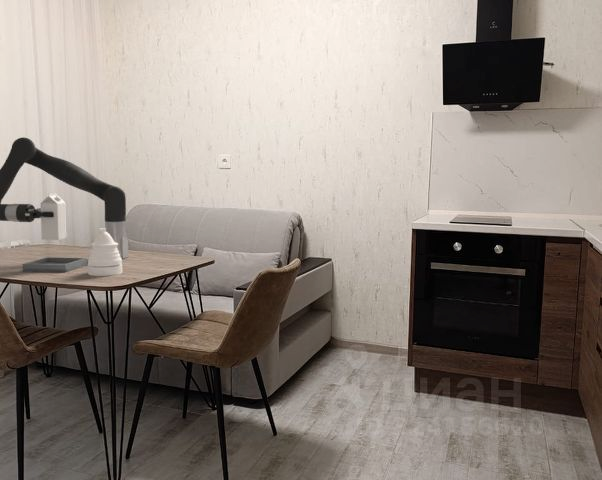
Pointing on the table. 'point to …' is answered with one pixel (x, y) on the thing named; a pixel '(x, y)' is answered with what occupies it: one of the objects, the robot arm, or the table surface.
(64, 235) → the milk carton
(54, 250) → the table surface
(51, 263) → the charcoal tray
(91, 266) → the honey pot
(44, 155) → the robot arm
